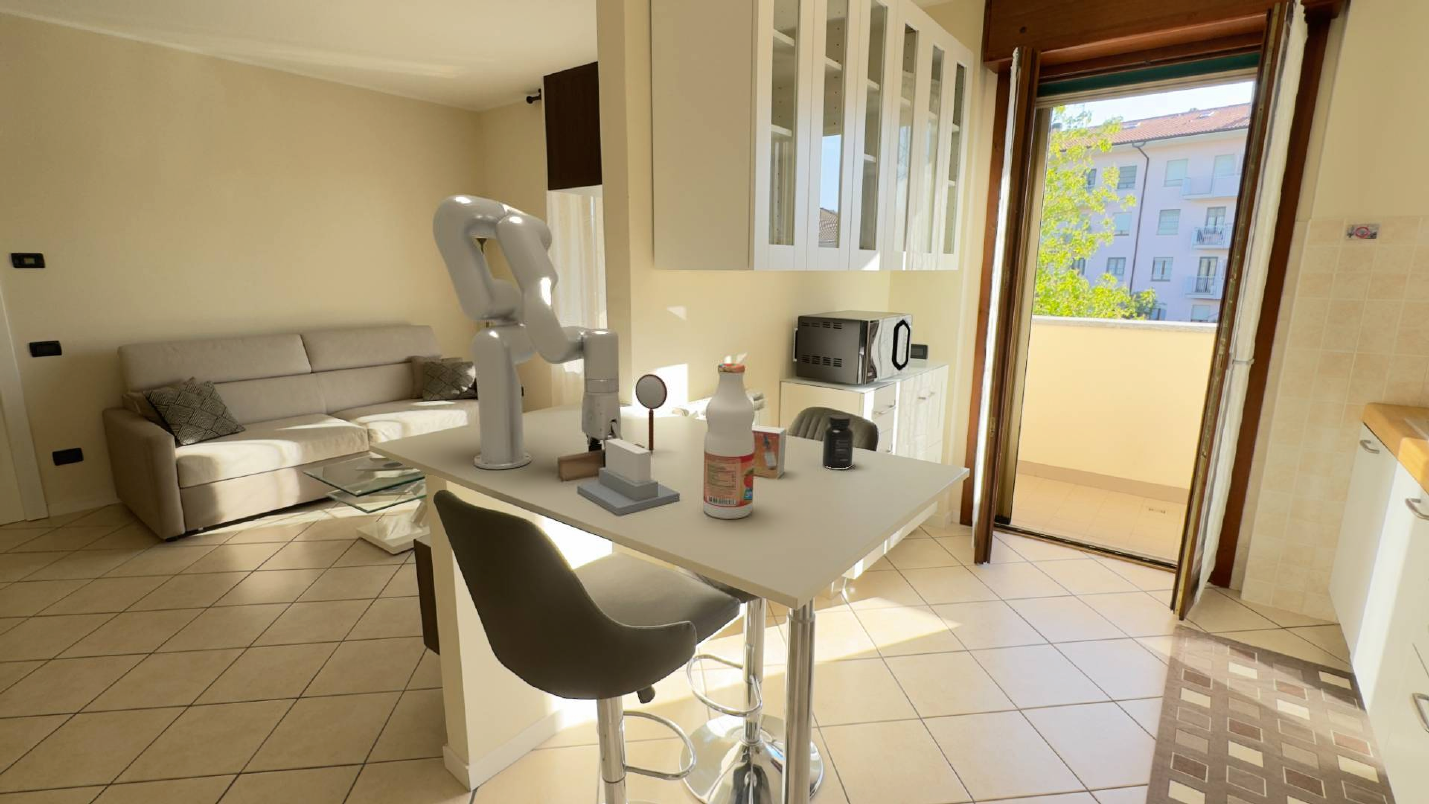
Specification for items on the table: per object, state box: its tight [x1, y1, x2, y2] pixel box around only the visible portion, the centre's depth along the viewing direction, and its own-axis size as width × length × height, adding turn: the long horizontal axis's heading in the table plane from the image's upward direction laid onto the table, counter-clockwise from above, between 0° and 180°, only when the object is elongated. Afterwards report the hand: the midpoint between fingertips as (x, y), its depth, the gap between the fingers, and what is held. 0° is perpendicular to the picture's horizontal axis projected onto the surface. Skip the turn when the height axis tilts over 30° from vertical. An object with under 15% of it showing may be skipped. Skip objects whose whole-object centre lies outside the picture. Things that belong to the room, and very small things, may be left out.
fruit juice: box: [702, 362, 756, 520], centre depth 120 cm, size 9×9×28 cm
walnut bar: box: [557, 443, 645, 482], centre depth 144 cm, size 3×20×5 cm, turn 128°
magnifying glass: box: [635, 373, 668, 455], centre depth 158 cm, size 9×2×20 cm, turn 66°
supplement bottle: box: [822, 414, 855, 468], centre depth 152 cm, size 7×7×12 cm
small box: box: [752, 424, 787, 479], centre depth 145 cm, size 8×6×10 cm
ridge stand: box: [576, 438, 681, 517], centre depth 128 cm, size 16×14×10 cm
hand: (602, 464), depth 144 cm, fingers open, 5 cm apart
